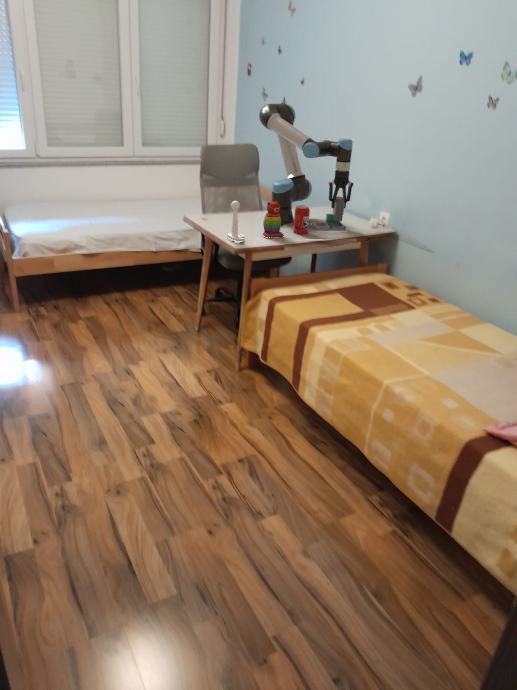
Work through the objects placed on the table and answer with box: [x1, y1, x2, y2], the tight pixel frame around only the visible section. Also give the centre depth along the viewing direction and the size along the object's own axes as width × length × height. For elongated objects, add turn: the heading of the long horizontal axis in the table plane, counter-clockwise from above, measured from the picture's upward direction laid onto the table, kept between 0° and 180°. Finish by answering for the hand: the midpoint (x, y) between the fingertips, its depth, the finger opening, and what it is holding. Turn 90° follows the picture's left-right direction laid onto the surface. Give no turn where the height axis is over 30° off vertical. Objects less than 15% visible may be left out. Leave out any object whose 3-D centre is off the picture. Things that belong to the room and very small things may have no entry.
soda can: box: [292, 204, 311, 236], centre depth 278 cm, size 8×8×15 cm
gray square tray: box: [309, 221, 348, 233], centre depth 292 cm, size 17×17×3 cm
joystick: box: [227, 200, 245, 242], centre depth 263 cm, size 11×8×20 cm
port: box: [325, 213, 347, 231], centre depth 293 cm, size 8×13×6 cm, turn 9°
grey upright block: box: [332, 196, 345, 222], centre depth 288 cm, size 4×6×12 cm, turn 9°
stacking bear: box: [262, 201, 285, 239], centre depth 273 cm, size 11×10×18 cm
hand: (337, 213), depth 289 cm, fingers closed on grey upright block, 4 cm apart
